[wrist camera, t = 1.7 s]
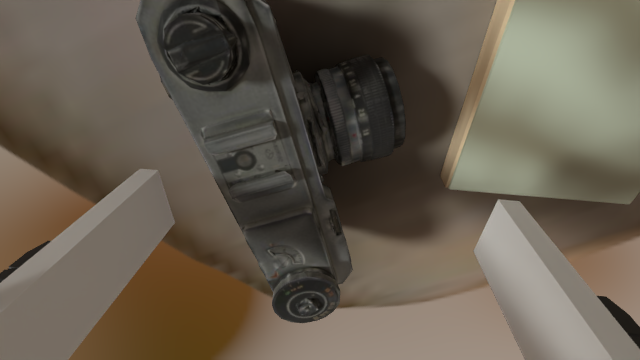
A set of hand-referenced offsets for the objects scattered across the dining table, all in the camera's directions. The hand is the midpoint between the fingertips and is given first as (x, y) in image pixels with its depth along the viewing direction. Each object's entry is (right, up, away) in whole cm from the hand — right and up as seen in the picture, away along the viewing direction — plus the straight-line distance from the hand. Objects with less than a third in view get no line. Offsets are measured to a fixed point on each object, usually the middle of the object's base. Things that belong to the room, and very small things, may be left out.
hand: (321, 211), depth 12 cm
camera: (0, +6, +8) cm, 10 cm away
